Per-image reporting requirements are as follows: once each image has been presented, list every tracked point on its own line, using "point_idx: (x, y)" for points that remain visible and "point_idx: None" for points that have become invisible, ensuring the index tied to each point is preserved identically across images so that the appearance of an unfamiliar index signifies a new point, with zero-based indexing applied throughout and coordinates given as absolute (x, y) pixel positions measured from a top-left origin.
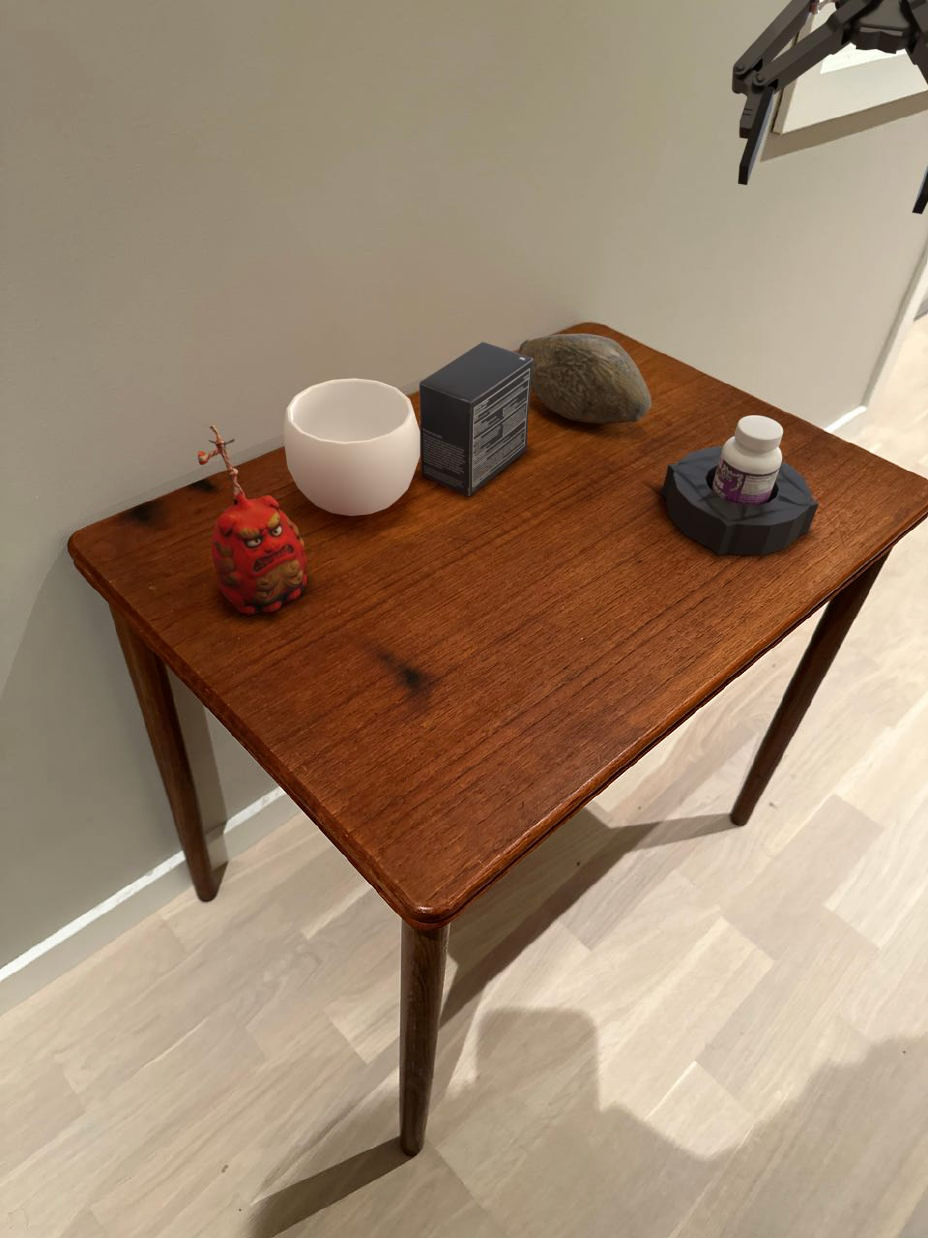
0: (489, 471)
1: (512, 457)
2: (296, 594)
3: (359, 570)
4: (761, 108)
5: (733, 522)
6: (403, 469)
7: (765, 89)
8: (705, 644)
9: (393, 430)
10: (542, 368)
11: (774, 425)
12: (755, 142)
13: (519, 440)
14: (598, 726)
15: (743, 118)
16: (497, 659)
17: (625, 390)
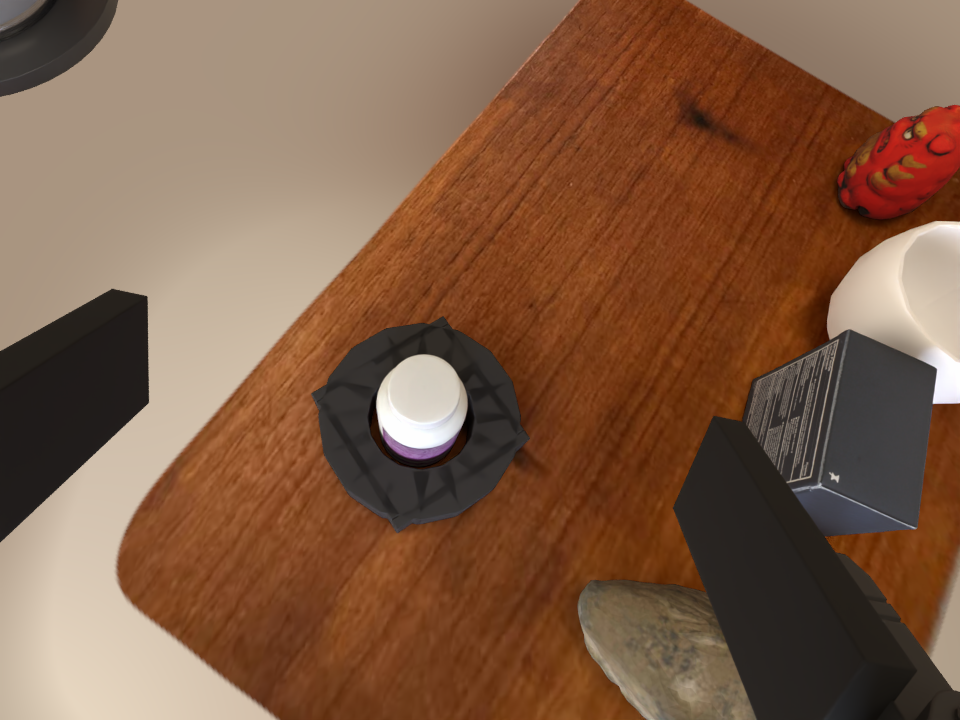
0: (751, 413)
1: None
2: (840, 176)
3: (805, 234)
4: (832, 565)
5: (434, 323)
6: (851, 281)
7: (897, 655)
8: (450, 196)
9: None
10: None
11: (401, 397)
12: (748, 465)
13: None
14: (537, 95)
15: (864, 583)
16: (639, 149)
17: (634, 593)
